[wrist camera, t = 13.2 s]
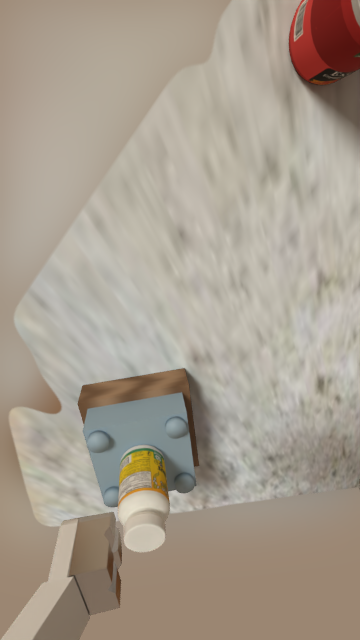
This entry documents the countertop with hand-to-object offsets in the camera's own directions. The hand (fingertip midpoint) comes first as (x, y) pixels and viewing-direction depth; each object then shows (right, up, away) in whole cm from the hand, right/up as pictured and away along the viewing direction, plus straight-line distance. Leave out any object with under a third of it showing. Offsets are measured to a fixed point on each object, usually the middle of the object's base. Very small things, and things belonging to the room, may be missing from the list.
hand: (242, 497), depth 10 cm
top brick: (-7, -10, +33) cm, 35 cm away
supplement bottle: (-7, -11, +29) cm, 32 cm away
